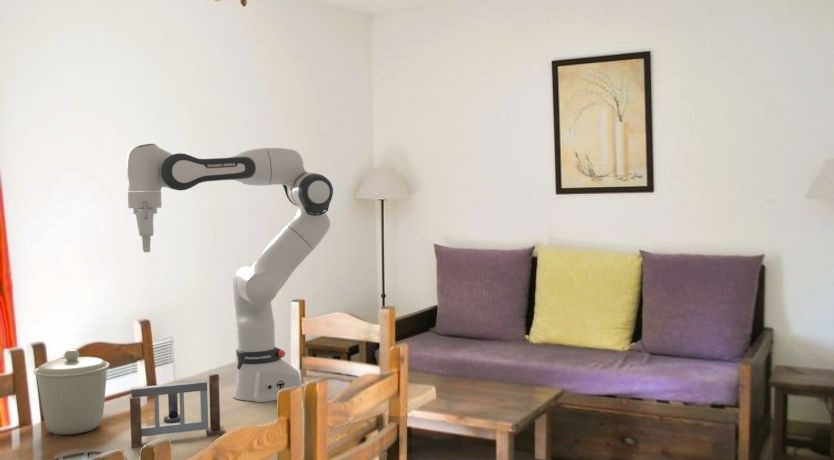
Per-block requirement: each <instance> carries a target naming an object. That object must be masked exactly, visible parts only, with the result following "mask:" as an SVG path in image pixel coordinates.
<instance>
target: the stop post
mask: <svg viewBox="0 0 834 460" xmlns="http://www.w3.org/2000/svg"><path fill="white" fill-rule="evenodd" d="M167 397H168V398H167V400H168V402H167V403H168V406H167V407H168V415H165V416H164V417H163V421H164V422H165V423H167V424H174V423H180V413H179V404H178V403H179V402H178V398H179V397H178V393H175V394H167Z"/></svg>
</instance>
